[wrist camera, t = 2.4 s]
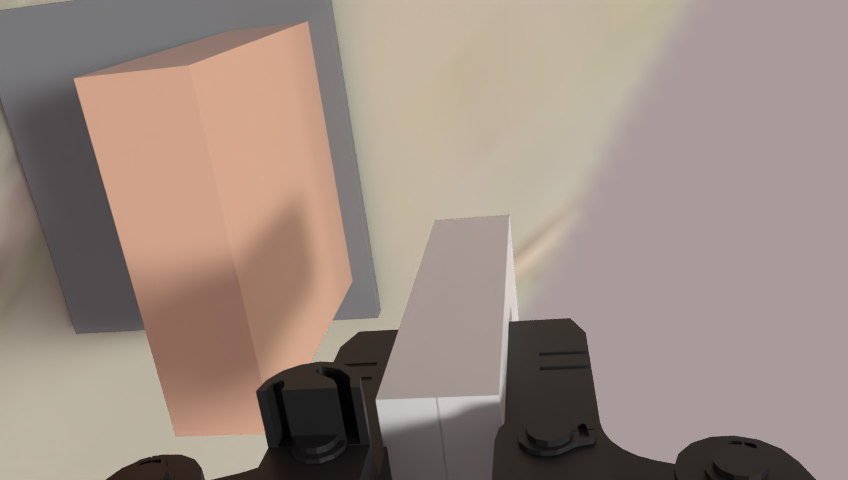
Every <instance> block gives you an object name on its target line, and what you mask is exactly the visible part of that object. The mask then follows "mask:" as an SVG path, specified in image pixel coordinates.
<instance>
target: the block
mask: <svg viewBox="0 0 848 480" xmlns="http://www.w3.org/2000/svg"><path fill="white" fill-rule="evenodd" d="M74 82H75V85H76V89H77V92H78V96H79V99H80V103H81V106H82V110H83V113H84V117H85V120H86V124H87V127H88V131H89V134H90V138H91V141H92V145H93V148H94V152H95V155H96V159H97V162H98V166H99V169H100V173H101V176H102V180H103V183H104V187H105V190H106V194H107V197H108V201H109V204H110V208H111V211H112V215H113V218H114V222H115V225H116V229H117V232H118V236H119V239H120V243H121V246H122V250H123V253H124V257H125V260H126V264H127V267H128V271H129V274H130V278H131V281H132V285H133V288H134V292H135V295H136V299H137V302H138V306H139V309H140V313H141V316H142V320H143V323H144V327H145V330H146V334H147V337H148V341H149V344H150V348H151V352H152V355H153V359H154V362H155V366H156V369H157V373H158V376H159V380H160V383H161V387H162V390H163V394H164V397H165V401H166V404H167V408H168V411H169V415H170V418H171V422H172V425H173V429H174V432H175V436H210V435H247V434H265V430H264V426H263V421H262V417H261V412H260V408H259V404H258V399H257V395H256V390H257V389H258V388H259V387H260V386H261V385H262V384H263V383H264V382H265V381H266V380H267V379H269V378H271V377H272V376H274V375H276V374H278V373H279V372H281V371H283V370H286V369H289V368H292V367H295V366H298V365H301V364H308V363H311V361H312V359H313V357H314V355H315V353H316V351H317V349H318V347H319V345H320V343H321V341H322V340H323V338H324V336H325V334H326V332H327V330H328V328H329V326H330V324H331V322H332V320H333V318H334V316H335V314H336V312H337V310H338V309H339V307H340V305H341V303H342V301H343V299H344V297H345V295H346V293H347V291H348V289H349V287H350V285H351V283H352V275H351V269H350V263H349V258H348V252H347V246H346V240H345V234H344V229H343V223H342V217H341V211H340V205H339V199H338V194H337V188H336V182H335V176H334V170H333V165H332V159H331V153H330V147H329V141H328V135H327V130H326V124H325V118H324V112H323V106H322V101H321V95H320V89H319V83H318V77H317V71H316V66H315V60H314V54H313V48H312V42H311V37H310V31H309V25H308V21H304V22H296V23H287V24H279V25H271V26H262V27H254V28H246V29H238V30H230V31H226V32H223V33H220V34H217V35H213V36H210V37H207V38H204V39H200V40H197V41H194V42H190V43H187V44H184V45H181V46H177V47H174V48H171V49H168V50H164V51H161V52H158V53H155V54H151V55H148V56H145V57H142V58H138V59H135V60H132V61H129V62H125V63H122V64H119V65H115V66H112V67H109V68H106V69H102V70H99V71H96V72H93V73H89V74H86V75H83V76H80V77H76V78H74Z"/></svg>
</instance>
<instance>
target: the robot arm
mask: <svg viewBox="0 0 848 480" xmlns="http://www.w3.org/2000/svg"><path fill="white" fill-rule="evenodd" d="M256 395H257V399H258V404H259V408H260V412H261V417H262V421H263V426H264V430H265V434H266V439H267V443H268V447H269V448H268V450H267V452H266V454H265V456H264V458H263V460H262V462H261V463H260V465H259V467H258V468H255V469H252V470H249V471H246V472H242V473H239V474H234V475H230V476H226V477H222V478H218V479H213V480H816V479H815V478H814V477H813V476H812V475H811V474H810V473H809V472H808V471H807V470H806V469H805V468H804V467H803V466H802V465H801V464H800V463H799V462H798V461H797V460H796V459H794V458H793V457H791V456H790V455H789V454H788V453H786V452H785V451H783V450H782V449H780V448H778V447H775V446H773V445H770V444H768V443H765V442H763V441H760V440H757V439H751V438H745V437H739V436H720V437H709V438H706V439H703V440H700V441H697V442H694V443H691V444H690V445H689V446H687V447H686V448H685V449H684V450H683V451H681V452H680V453H679V454H678V457H677V460H676V463H675V464H672V463H666V462H661V461H656V460H651V459H648V458H644V457H640V456H637V455H635V454H632V453H630V452H628V451H626V450H623V449H622V448H620V447H619V446H617V445H616V444H615V443H613V442H612V441H611V440H610V439H609V438H608V437H607V436H606V434H605V433H604V431H603V429H602V427H601V424H600V420H599V414H598V408H597V401H596V395H595V389H594V382H593V376H592V370H591V363H590V357H589V352H588V345H587V339H586V333H585V332H584V331H583V330H582V329H581V328H580V327H579V326H578V325H577V324H576V323H575V322H574V321H572V320H571V319H570V318H569V319H568V318H567V319H550V320H530V321H519V319H518V308H517V296H516V285H515V274H514V262H513V251H512V239H511V228H510V217H509V215H499V216H486V217H473V218H459V219H446V220H435V222H434V225H433V228H432V231H431V234H430V237H429V240H428V243H427V246H426V249H425V252H424V255H423V258H422V261H421V264H420V267H419V270H418V273H417V276H416V279H415V282H414V285H413V288H412V291H411V294H410V297H409V300H408V303H407V306H406V309H405V312H404V315H403V318H402V321H401V324H400V327H399V330H383V331H364V332H358V333H357V334H356V335H355V336H353V337H352V338H351V339H350V340H349V341H347V342H346V343H345V344H344V345H343V346H341V347H340V349H339V352H338V354H337V356H336V358H335V360H334V362H315V363H308V364H301V365H298V366H295V367H292V368H289V369H286V370H283V371H281V372H279V373H278V374H276V375H274V376H272V377H271V378H269V379H267V380H266V381H265V382H264V383H263V384H262V385H261V386H260V387H259V388H258V389H257V390H256ZM106 480H205V479H204V475H203V471H202V468H201V467H200V466H199V464H198V463H197V462H196V460H195V459H192V458H189V457H186V456H183V455H159V456H153V457H151V458H150V457H148V458H145V459H141V460H139V461H137V462H135V463H133V464H131V465H128V466H126V467H124V468H122V469H120V470H119V471H117V472H116V473H115V474H113V475H112V476H110V477H109V478H107V479H106Z"/></svg>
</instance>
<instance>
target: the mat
mask: <svg viewBox="0 0 848 480" xmlns="http://www.w3.org/2000/svg"><path fill="white" fill-rule="evenodd" d="M304 21H308V25H309V31H310V37H311V42H312V48H313V54H314V60H315V66H316V71H317V77H318V83H319V89H320V95H321V101H322V106H323V112H324V118H325V124H326V130H327V135H328V141H329V147H330V153H331V159H332V165H333V170H334V176H335V182H336V188H337V194H338V199H339V205H340V211H341V217H342V223H343V229H344V234H345V240H346V246H347V252H348V258H349V263H350V269H351V275H352V283H351V285H350V287H349V289H348V291H347V293H346V295H345V297H344V299H343V301H342V303H341V305H340V307H339V309H338V310H337V312H336V314H335V316H334V318H333V320H346V319H365V318H378V316H379V314H380V311H381V308H380V302H379V296H378V290H377V283H376V277H375V271H374V265H373V258H372V252H371V246H370V240H369V233H368V227H367V221H366V215H365V208H364V202H363V196H362V190H361V183H360V177H359V171H358V165H357V158H356V152H355V146H354V139H353V133H352V127H351V121H350V114H349V108H348V102H347V96H346V89H345V83H344V77H343V71H342V64H341V58H340V52H339V46H338V39H337V33H336V27H335V21H334V14H333V8H332V2H331V0H74V1H66V2H58V3H51V4H43V5H36V6H28V7H21V8H13V9H5V10H0V99H1V102H2V105H3V108H4V111H5V114H6V117H7V120H8V123H9V126H10V130H11V133H12V136H13V139H14V142H15V145H16V148H17V151H18V154H19V158H20V161H21V164H22V167H23V170H24V173H25V176H26V179H27V182H28V185H29V189H30V192H31V195H32V198H33V201H34V204H35V207H36V210H37V213H38V216H39V220H40V223H41V226H42V229H43V232H44V235H45V238H46V241H47V244H48V247H49V251H50V254H51V257H52V260H53V263H54V266H55V269H56V272H57V275H58V278H59V282H60V285H61V288H62V291H63V294H64V297H65V300H66V303H67V306H68V309H69V313H70V316H71V319H72V322H73V325H74V328H75V331H76V334H79V333H98V332H117V331H136V330H145V327H144V323H143V320H142V316H141V313H140V309H139V306H138V302H137V299H136V295H135V292H134V288H133V285H132V281H131V278H130V274H129V271H128V267H127V264H126V260H125V257H124V253H123V250H122V246H121V243H120V239H119V236H118V232H117V229H116V225H115V222H114V218H113V215H112V211H111V208H110V204H109V201H108V197H107V194H106V190H105V187H104V183H103V180H102V176H101V173H100V169H99V166H98V162H97V159H96V155H95V152H94V148H93V145H92V141H91V138H90V134H89V131H88V127H87V124H86V120H85V117H84V113H83V110H82V106H81V103H80V99H79V96H78V92H77V89H76V85H75V82H74V78H76V77H80V76H83V75H86V74H89V73H93V72H96V71H99V70H102V69H106V68H109V67H112V66H115V65H119V64H122V63H125V62H129V61H132V60H135V59H138V58H142V57H145V56H148V55H151V54H155V53H158V52H161V51H164V50H168V49H171V48H174V47H177V46H181V45H184V44H187V43H190V42H194V41H197V40H200V39H204V38H207V37H210V36H213V35H217V34H220V33H223V32H226V31H230V30H238V29H246V28H254V27H262V26H271V25H279V24H287V23H296V22H304Z"/></svg>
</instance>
